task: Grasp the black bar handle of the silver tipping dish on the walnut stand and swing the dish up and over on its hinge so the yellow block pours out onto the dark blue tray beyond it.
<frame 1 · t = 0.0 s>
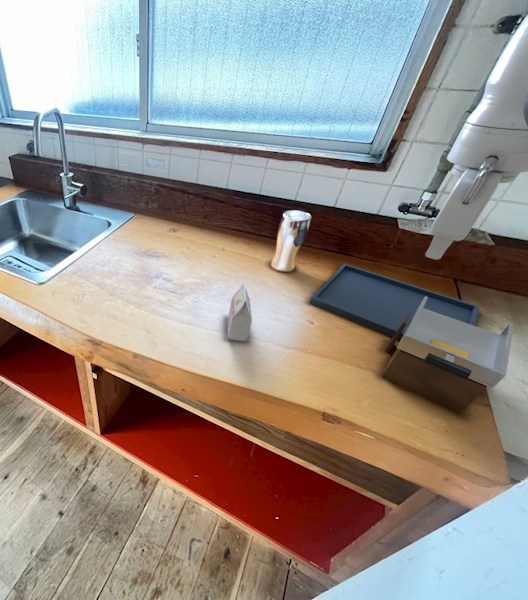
hand: (438, 245, 50), 23 cm above the worktop, tool pointing down, fingers open, 8 cm apart
silver metal vase: (282, 266, 90), on the worktop
yellow block: (447, 351, 53), point 7 cm above the worktop, touching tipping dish
grey boxy piece: (236, 330, 70), on the worktop
stand: (423, 381, 57), on the worktop
tray: (389, 307, 74), on the worktop
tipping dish: (453, 341, 53), point 9 cm above the worktop, hinge at 0.0°, touching yellow block
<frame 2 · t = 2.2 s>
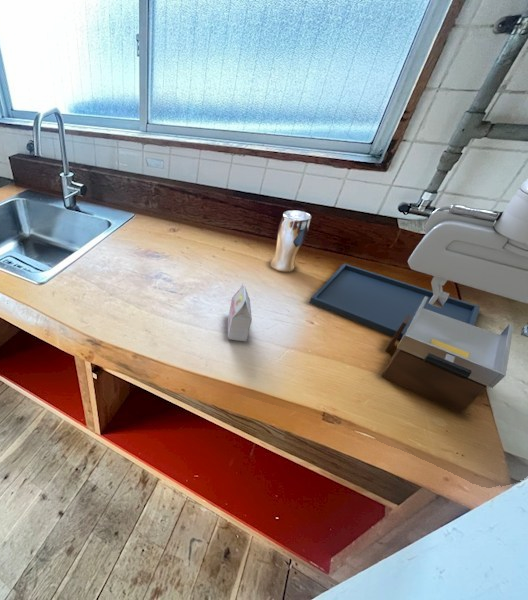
hand: (479, 318, 43), 18 cm above the worktop, tool pointing down, fingers open, 8 cm apart
nothing on the worktop moved.
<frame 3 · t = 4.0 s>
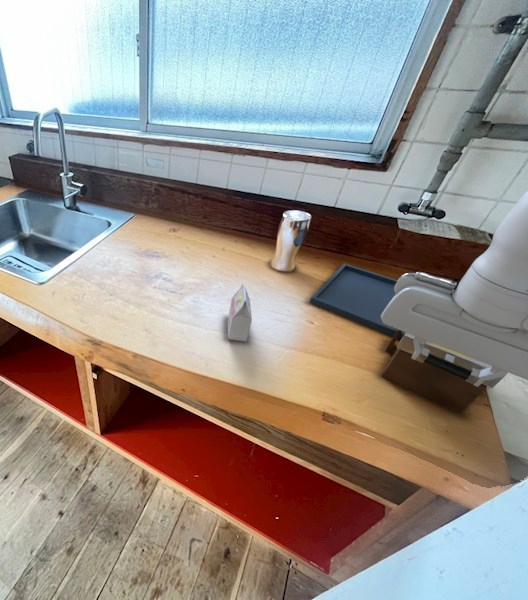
hand: (443, 370, 49), 9 cm above the worktop, tool pointing down, fingers closed on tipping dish, 5 cm apart
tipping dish: (453, 341, 53), point 9 cm above the worktop, hinge at -0.1°, touching gripper, yellow block
everything else where it was.
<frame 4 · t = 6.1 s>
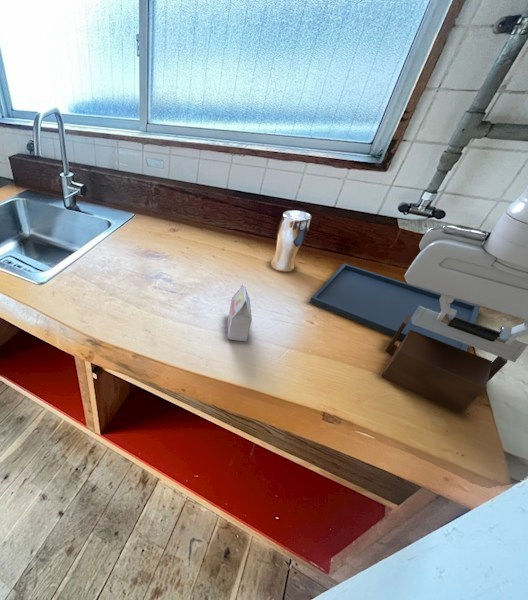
hand: (471, 329, 46), 15 cm above the worktop, tool pointing down, fingers closed on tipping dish, 5 cm apart
yellow block: (458, 336, 52), point 10 cm above the worktop, tilted 28°, touching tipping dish
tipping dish: (461, 329, 53), point 10 cm above the worktop, hinge at 28.2°, touching gripper, yellow block
everything else where it was.
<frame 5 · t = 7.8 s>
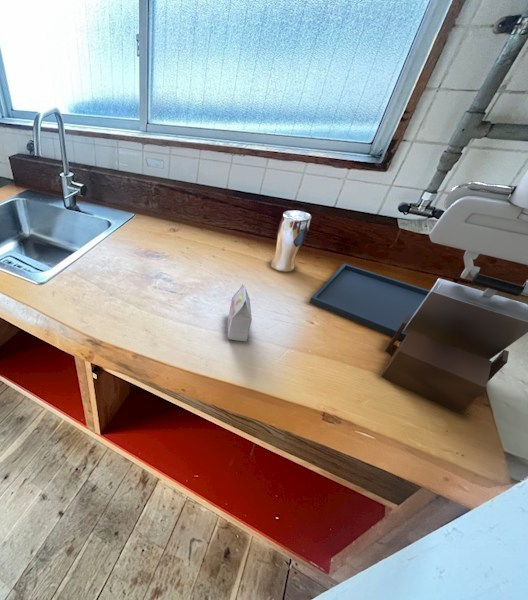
hand: (494, 285, 48), 19 cm above the worktop, tool pointing down, fingers closed on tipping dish, 5 cm apart
yellow block: (441, 340, 64), point 1 cm above the worktop, tilted 180°, touching tray
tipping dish: (467, 316, 53), point 12 cm above the worktop, hinge at 63.7°, touching gripper
everything else where it was.
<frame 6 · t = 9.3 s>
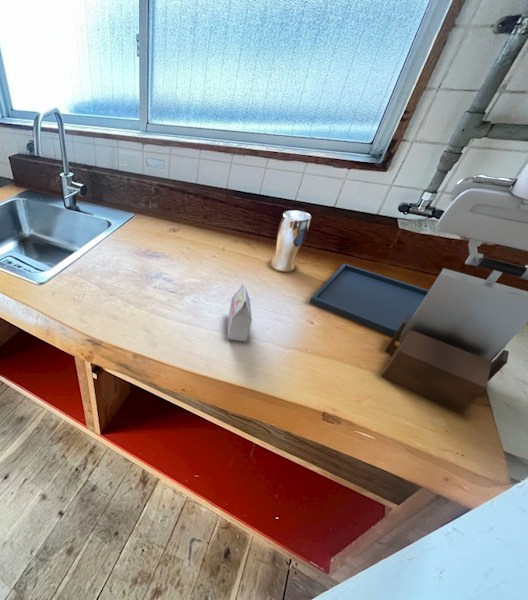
hand: (496, 270, 52), 18 cm above the worktop, tool pointing down, fingers closed on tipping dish, 5 cm apart
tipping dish: (468, 312, 55), point 11 cm above the worktop, hinge at 95.0°, touching gripper
everything else where it was.
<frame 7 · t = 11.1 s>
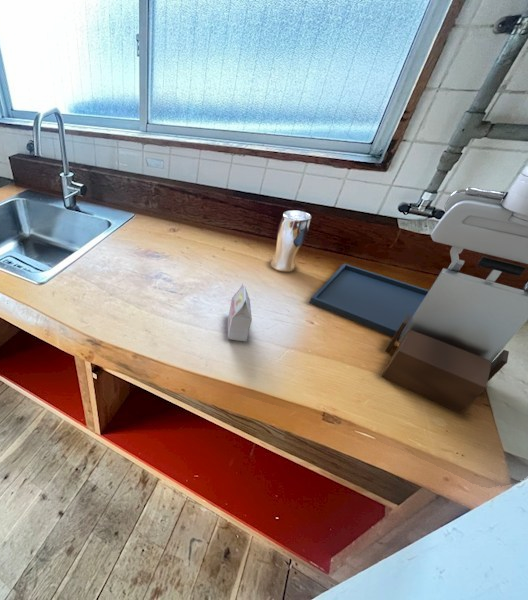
hand: (489, 280, 54), 16 cm above the worktop, tool pointing down, fingers open, 8 cm apart
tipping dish: (467, 312, 55), point 11 cm above the worktop, hinge at 99.8°
everything else where it was.
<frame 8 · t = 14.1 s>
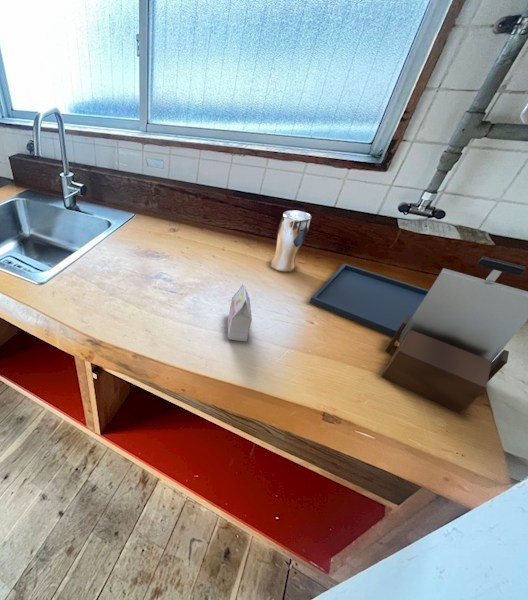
nothing on the worktop moved.
at the end: yellow block inside the target area in the tray (12.1 cm from its centre), point 1.0 cm above the tray's base; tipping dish reached +103° during the clip, +100° at the end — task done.
